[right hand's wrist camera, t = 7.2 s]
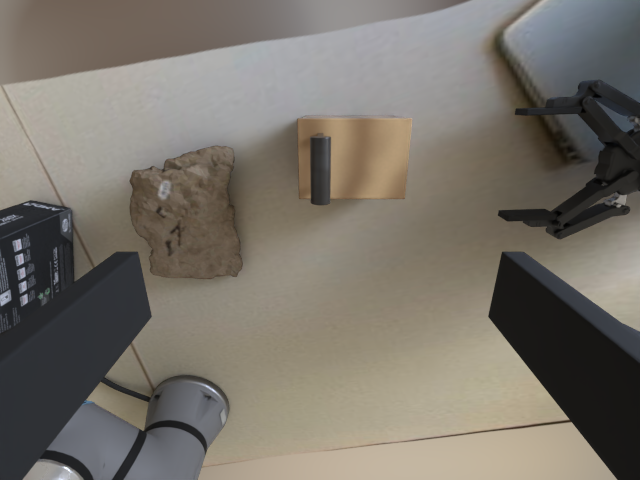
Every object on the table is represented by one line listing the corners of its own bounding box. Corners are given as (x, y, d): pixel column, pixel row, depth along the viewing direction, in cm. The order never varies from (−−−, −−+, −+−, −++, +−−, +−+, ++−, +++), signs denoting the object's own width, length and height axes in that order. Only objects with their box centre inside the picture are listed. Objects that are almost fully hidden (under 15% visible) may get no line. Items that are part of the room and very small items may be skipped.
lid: (299, 196, 44) (294, 218, 35) (297, 118, 40) (291, 121, 32) (402, 196, 44) (422, 218, 35) (409, 118, 40) (433, 121, 32)
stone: (121, 142, 47) (108, 155, 42) (233, 140, 50) (233, 153, 45) (153, 267, 58) (145, 290, 53) (243, 259, 61) (244, 280, 56)
